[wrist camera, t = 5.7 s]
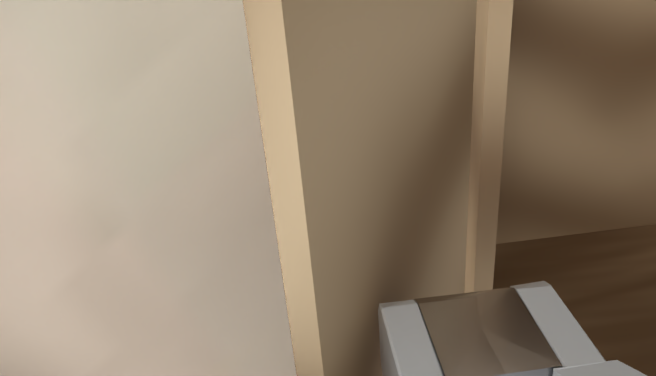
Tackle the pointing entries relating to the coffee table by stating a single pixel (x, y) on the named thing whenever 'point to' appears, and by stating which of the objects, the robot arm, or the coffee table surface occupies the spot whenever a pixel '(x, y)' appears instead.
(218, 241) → the coffee table surface
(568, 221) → the wooden flap box
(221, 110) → the coffee table surface
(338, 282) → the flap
